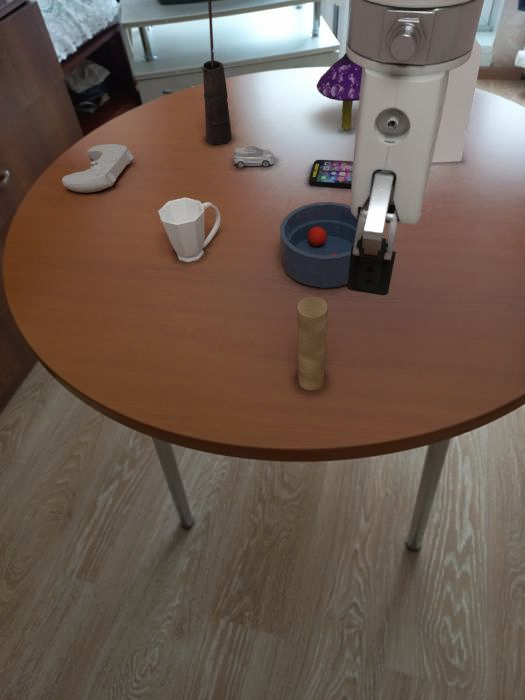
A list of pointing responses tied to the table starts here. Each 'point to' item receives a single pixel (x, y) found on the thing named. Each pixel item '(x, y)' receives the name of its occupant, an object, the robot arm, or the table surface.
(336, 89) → the decorative mushroom
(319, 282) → the bowl
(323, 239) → the ball
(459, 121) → the milk
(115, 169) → the game controller
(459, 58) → the robot arm
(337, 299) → the table surface
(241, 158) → the toy car
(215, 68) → the butter churn
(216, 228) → the cup
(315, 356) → the stick
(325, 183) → the smartphone
